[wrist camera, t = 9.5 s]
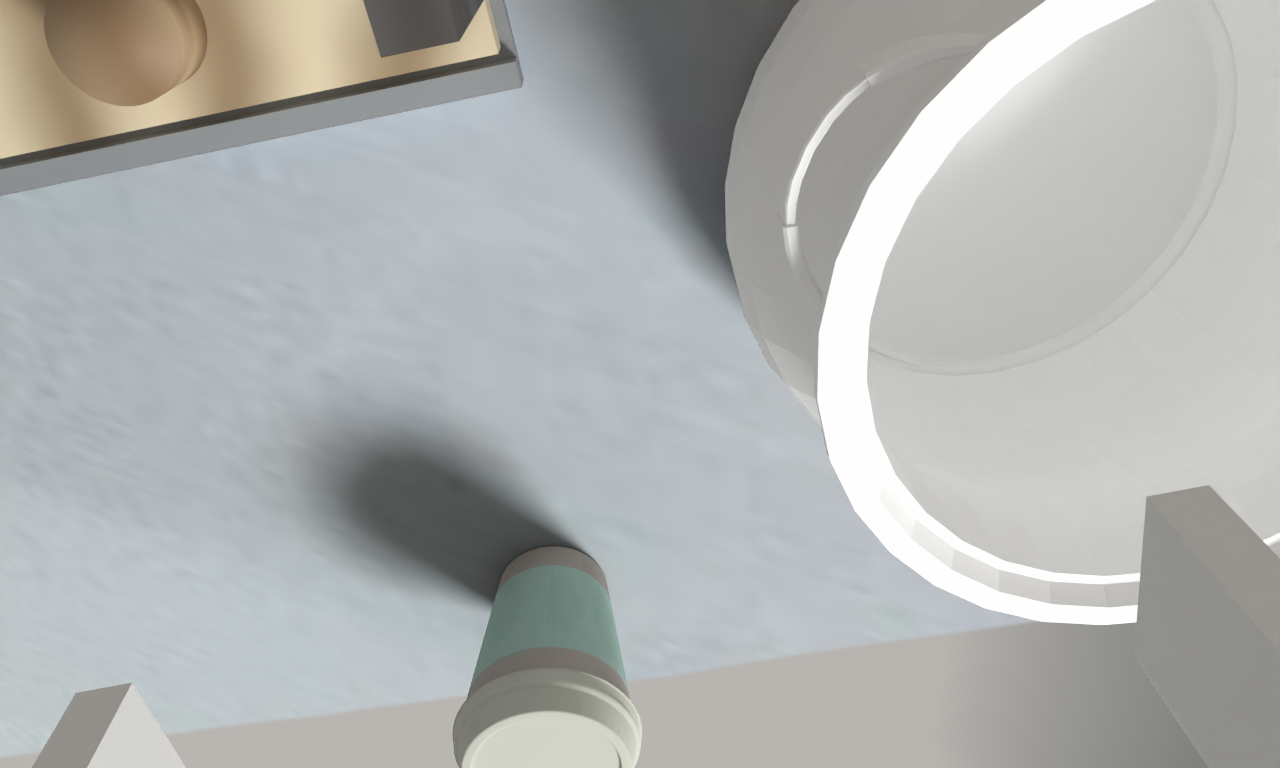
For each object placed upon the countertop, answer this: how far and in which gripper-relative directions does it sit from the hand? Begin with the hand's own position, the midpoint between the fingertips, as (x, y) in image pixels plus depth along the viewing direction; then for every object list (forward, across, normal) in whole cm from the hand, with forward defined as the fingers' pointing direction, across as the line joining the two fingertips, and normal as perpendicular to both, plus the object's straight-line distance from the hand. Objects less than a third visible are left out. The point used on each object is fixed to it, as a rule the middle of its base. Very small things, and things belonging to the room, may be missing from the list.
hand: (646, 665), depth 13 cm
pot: (+32, +16, -6) cm, 36 cm away
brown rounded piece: (+30, -16, +6) cm, 34 cm away
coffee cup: (+32, -8, -25) cm, 41 cm away
